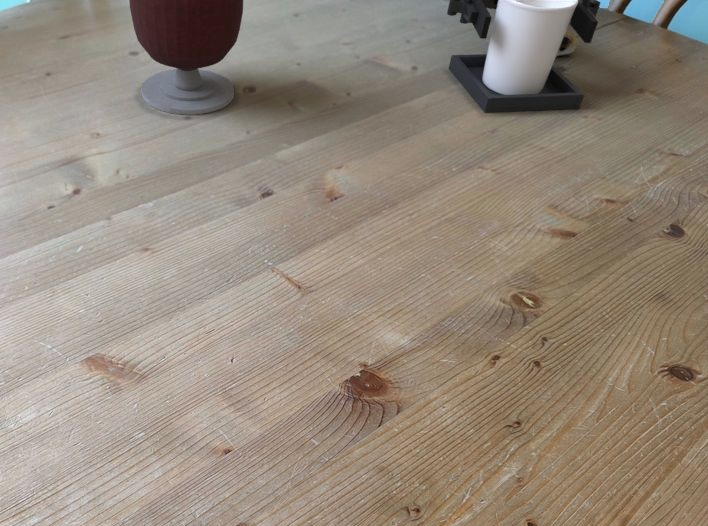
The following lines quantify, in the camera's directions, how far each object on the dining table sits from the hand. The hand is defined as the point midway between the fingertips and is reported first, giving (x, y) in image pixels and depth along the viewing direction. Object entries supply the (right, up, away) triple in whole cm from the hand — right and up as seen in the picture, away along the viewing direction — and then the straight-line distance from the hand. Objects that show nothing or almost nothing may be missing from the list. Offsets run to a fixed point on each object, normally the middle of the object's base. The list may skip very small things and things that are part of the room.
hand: (538, 30), depth 96 cm
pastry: (+8, +5, +20) cm, 22 cm away
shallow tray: (0, -4, +9) cm, 10 cm away
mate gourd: (-45, -7, +3) cm, 46 cm away
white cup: (0, -4, +9) cm, 10 cm away
